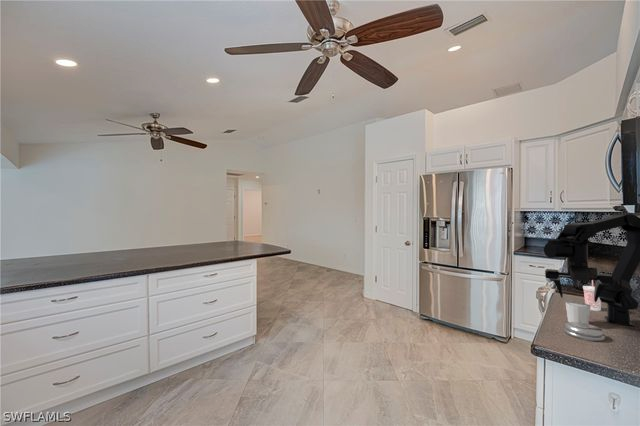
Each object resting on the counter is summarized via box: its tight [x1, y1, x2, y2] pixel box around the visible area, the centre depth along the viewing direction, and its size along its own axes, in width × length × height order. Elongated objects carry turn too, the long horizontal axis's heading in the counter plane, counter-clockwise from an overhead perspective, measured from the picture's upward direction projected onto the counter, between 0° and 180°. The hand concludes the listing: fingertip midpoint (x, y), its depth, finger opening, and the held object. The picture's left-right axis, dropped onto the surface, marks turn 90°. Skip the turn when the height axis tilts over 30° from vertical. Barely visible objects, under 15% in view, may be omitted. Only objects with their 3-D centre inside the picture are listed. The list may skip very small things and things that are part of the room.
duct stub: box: [563, 321, 606, 343], centre depth 93 cm, size 10×10×3 cm
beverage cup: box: [582, 280, 602, 312], centre depth 118 cm, size 6×6×14 cm
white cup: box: [565, 300, 591, 324], centre depth 104 cm, size 7×7×7 cm
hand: (578, 299), depth 104 cm, fingers open, 9 cm apart
